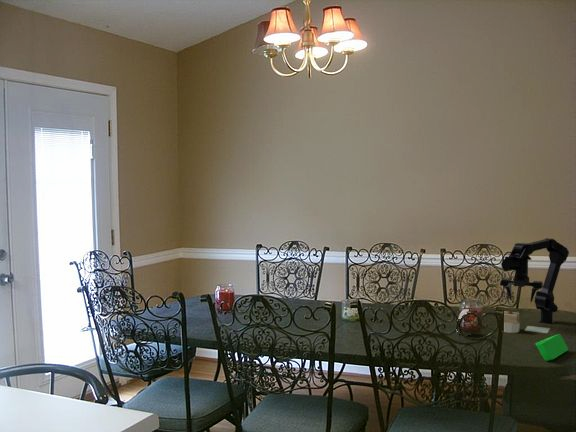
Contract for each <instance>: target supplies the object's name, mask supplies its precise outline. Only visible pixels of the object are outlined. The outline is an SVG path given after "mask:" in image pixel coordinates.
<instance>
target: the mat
mask: <svg viewBox="0 0 576 432" xmlns="http://www.w3.org/2000/svg"><path fill="white" fill-rule="evenodd" d="M550 329H551V328H550V327H543V326H541V327H540V326H532V325H527V326H526V328H525V329H524V331H525V332H533V333H542V334H548V333H549V332H550Z"/></svg>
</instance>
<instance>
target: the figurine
mask: <svg viewBox="0 0 576 432" xmlns="http://www.w3.org/2000/svg"><path fill="white" fill-rule="evenodd" d="M468 311H469V308H465V309H463V310H462V311H461V312H460V313H459V315H458V318H457V320H458V319H461V318H462V316H463V315H464V314H465V313H467V312H468ZM457 332H458V331H457V330H456V333H457Z"/></svg>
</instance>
